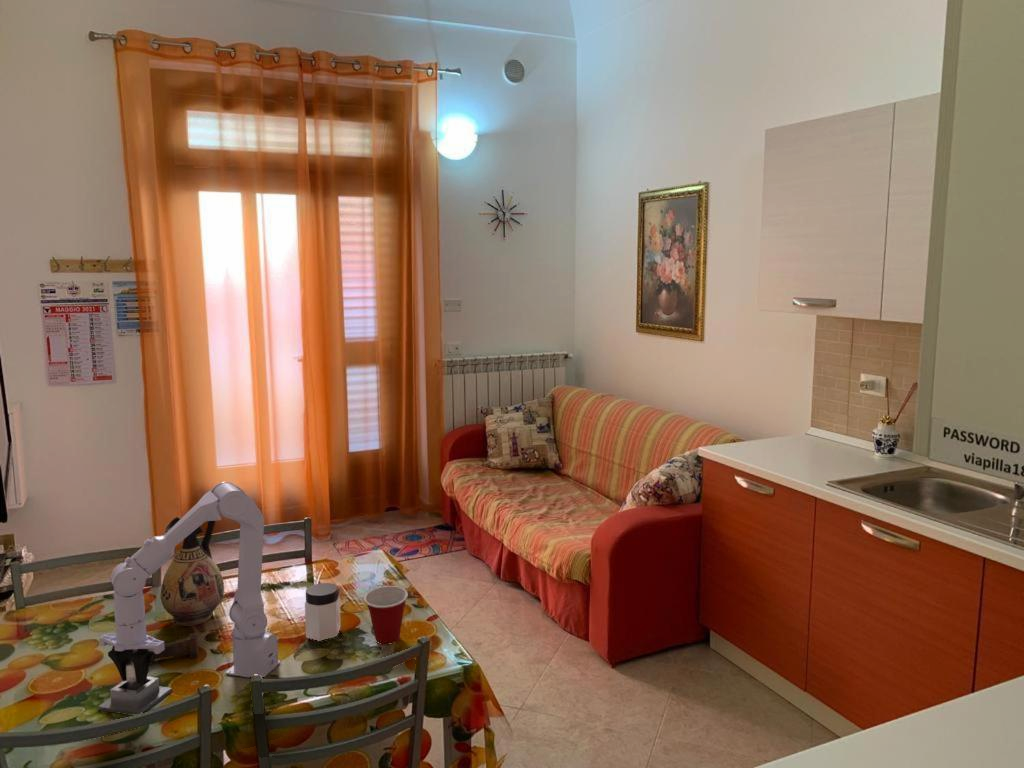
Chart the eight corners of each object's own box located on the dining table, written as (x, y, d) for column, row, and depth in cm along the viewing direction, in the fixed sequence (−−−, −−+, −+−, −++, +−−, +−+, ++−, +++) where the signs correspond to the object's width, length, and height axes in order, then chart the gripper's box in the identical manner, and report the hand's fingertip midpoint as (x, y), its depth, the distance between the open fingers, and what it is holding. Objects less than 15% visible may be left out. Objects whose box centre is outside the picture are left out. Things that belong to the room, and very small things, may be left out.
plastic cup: (356, 645, 186) (355, 599, 184) (378, 627, 196) (377, 583, 194) (395, 653, 182) (394, 606, 180) (416, 634, 192) (415, 589, 190)
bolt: (130, 671, 177) (199, 658, 182) (126, 670, 173) (197, 657, 178) (130, 645, 179) (197, 633, 184) (126, 643, 175) (195, 631, 180)
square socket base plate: (171, 691, 165) (170, 675, 164) (138, 716, 155) (137, 699, 155) (133, 685, 167) (132, 669, 167) (98, 709, 158) (97, 692, 157)
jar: (336, 642, 188) (334, 596, 186) (303, 642, 187) (301, 596, 186) (343, 625, 197) (341, 581, 195) (311, 626, 196) (310, 582, 195)
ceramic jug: (173, 637, 190) (166, 523, 186) (155, 617, 201) (148, 509, 197) (240, 618, 201) (235, 509, 197) (219, 600, 212) (213, 497, 208)
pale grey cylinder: (147, 686, 162) (145, 660, 161) (134, 694, 159) (132, 667, 158) (137, 683, 163) (135, 657, 162) (123, 690, 160) (121, 664, 159)
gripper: (86, 624, 157) (91, 685, 159) (146, 632, 153) (150, 694, 155) (112, 609, 163) (116, 668, 165) (169, 617, 160) (173, 677, 162)
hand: (134, 680), depth 161 cm, fingers closed on pale grey cylinder, 3 cm apart
